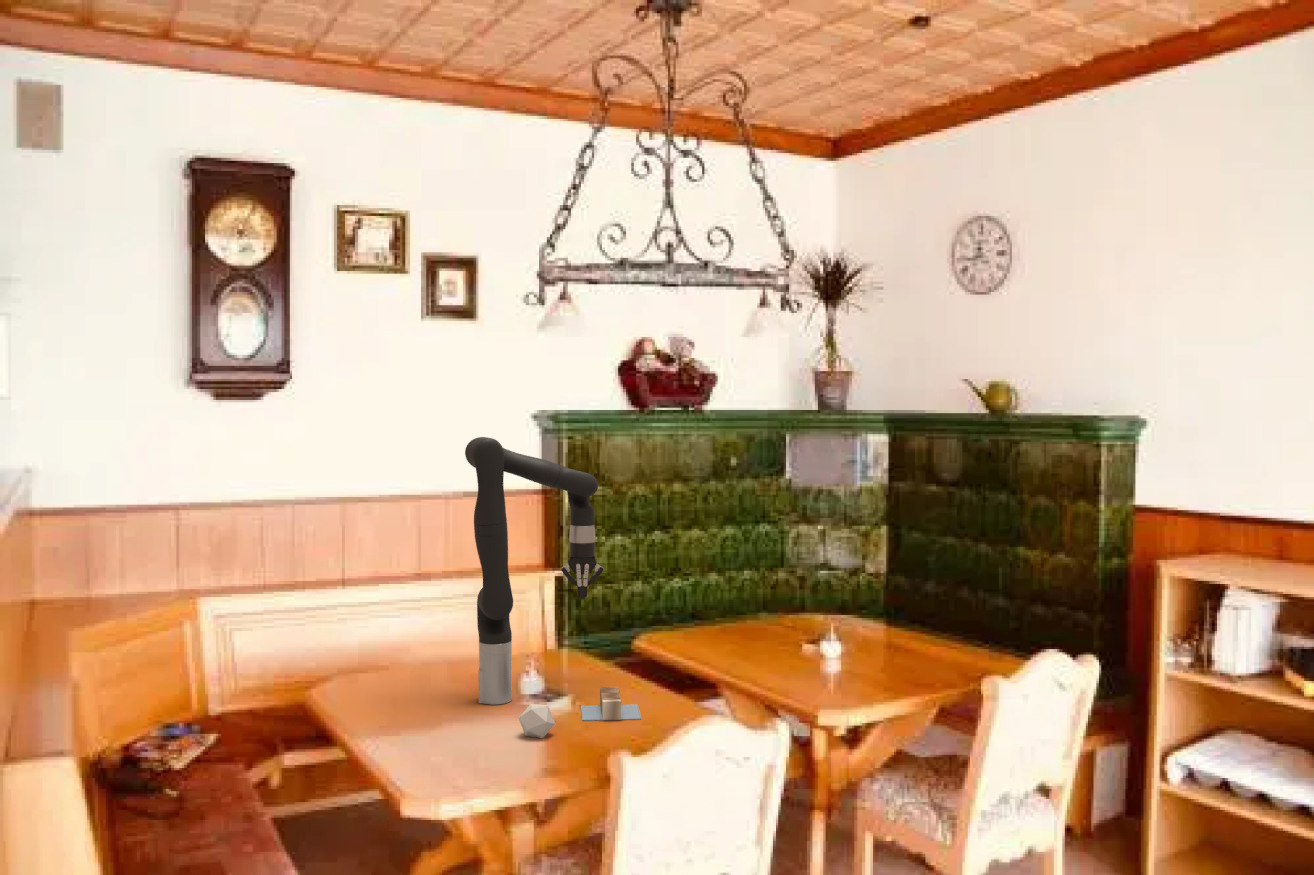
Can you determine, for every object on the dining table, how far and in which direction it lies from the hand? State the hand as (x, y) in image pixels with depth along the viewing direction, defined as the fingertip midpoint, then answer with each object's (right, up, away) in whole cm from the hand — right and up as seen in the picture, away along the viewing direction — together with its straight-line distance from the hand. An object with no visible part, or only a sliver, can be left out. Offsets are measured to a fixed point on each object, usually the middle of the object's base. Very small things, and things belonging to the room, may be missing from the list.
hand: (582, 598), depth 335 cm
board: (+9, -28, -22) cm, 37 cm away
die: (-9, -30, -41) cm, 52 cm away
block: (+9, -25, -15) cm, 31 cm away
